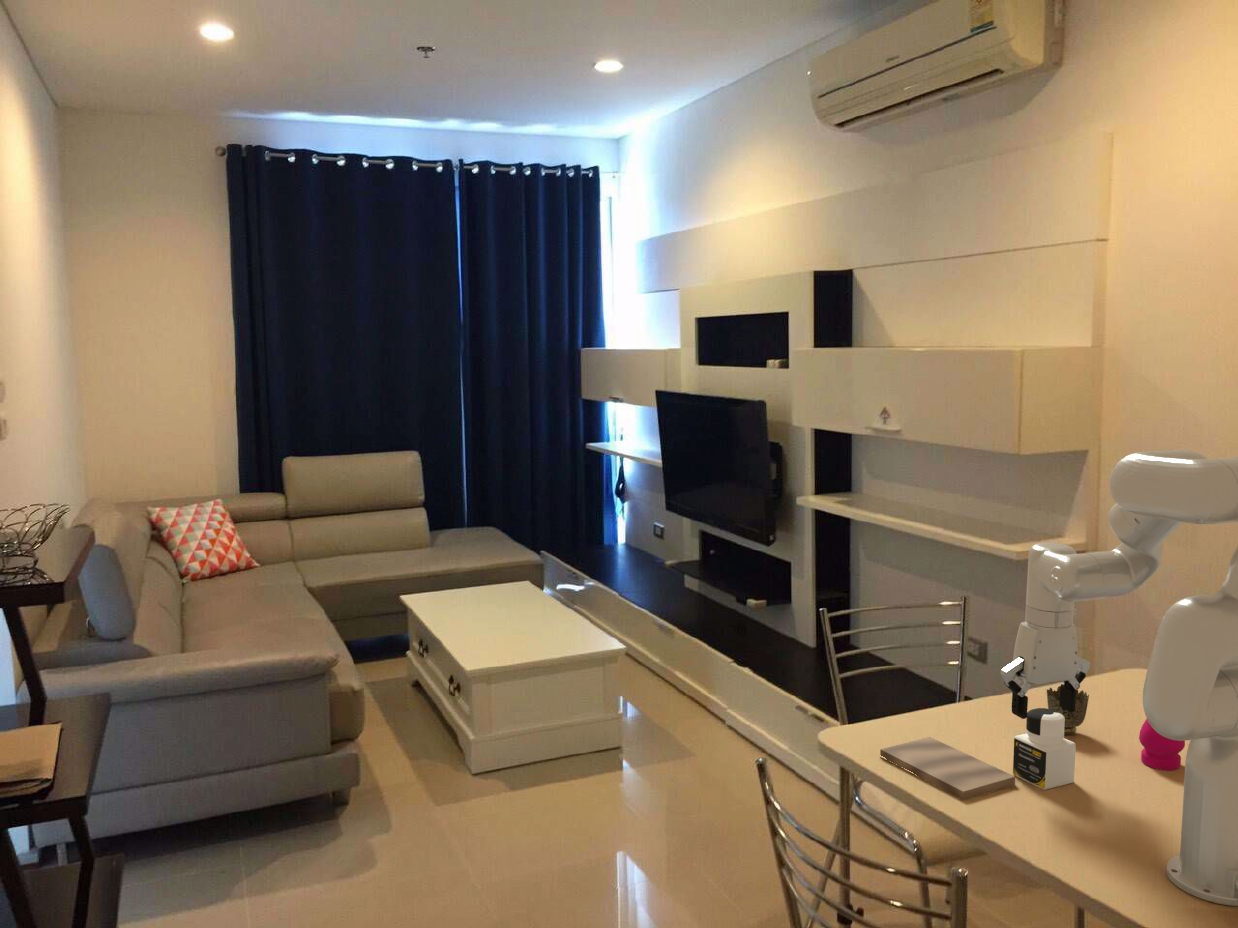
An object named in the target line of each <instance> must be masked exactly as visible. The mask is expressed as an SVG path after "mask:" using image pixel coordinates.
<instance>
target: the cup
mask: <svg viewBox="0 0 1238 928" xmlns="http://www.w3.org/2000/svg"><path fill="white" fill-rule="evenodd" d="M1060 686H1061V685H1058V687H1057V688H1056V690H1053V688H1052V687H1049V689H1046V696H1047V697H1046V698H1047V701H1046V703H1047V709H1052V710H1055V711H1057V712H1059V713H1061V714H1062V715H1063V716H1064V717H1065V726H1064V736H1072V735H1075V734H1076V733H1077V729H1078V728H1077V727H1079V726H1081V725H1082V724H1083V723H1084V721H1085V718H1086V715H1087V710H1088V704H1089V699H1090V694H1087V691H1085V692H1084V690H1083V689H1082V690H1081V691H1079V689H1078V690H1076V701H1075V712H1069V711H1067V710H1065V709H1064V708H1062V707H1060V706H1059V698H1060Z"/></svg>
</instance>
